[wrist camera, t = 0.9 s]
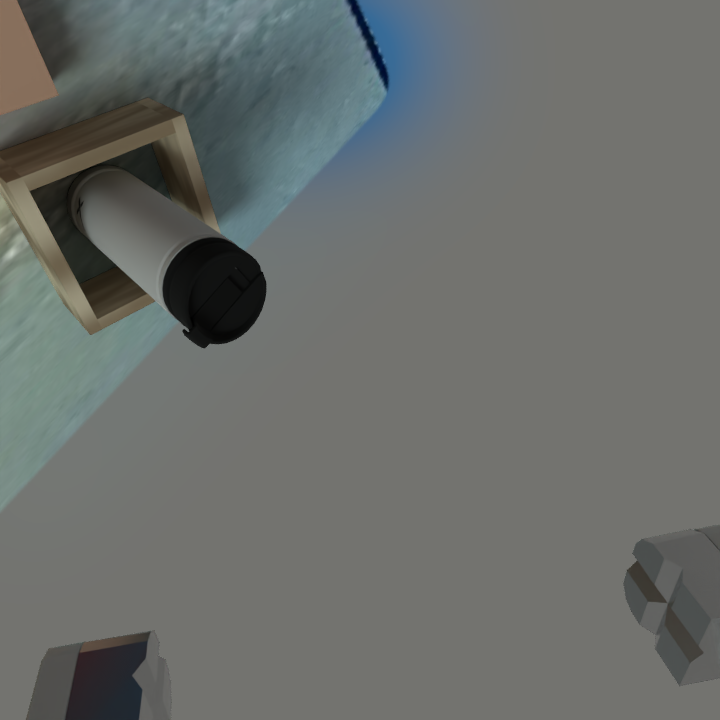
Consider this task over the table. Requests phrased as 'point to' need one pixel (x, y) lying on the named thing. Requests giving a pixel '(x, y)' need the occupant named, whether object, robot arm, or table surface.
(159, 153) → the open wooden box frame
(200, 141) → the table surface
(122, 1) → the table surface
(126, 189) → the travel mug
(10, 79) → the tile stand
